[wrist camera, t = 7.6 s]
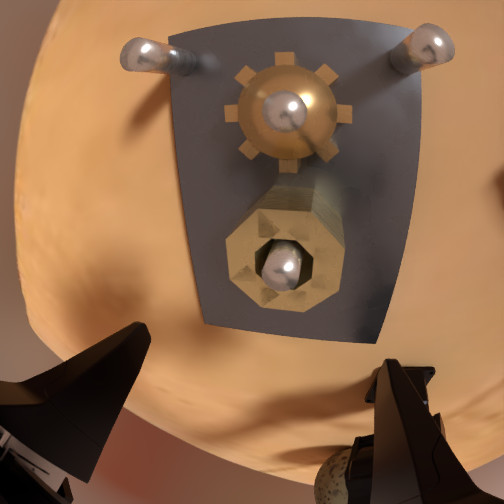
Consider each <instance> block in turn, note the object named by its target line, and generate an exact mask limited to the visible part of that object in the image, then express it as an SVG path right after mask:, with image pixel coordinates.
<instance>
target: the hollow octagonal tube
mask: <svg viewBox="0 0 504 504" xmlns="http://www.w3.org/2000/svg"><path fill="white" fill-rule="evenodd" d="M271 238H273V239H286V240H297V241H298V242H299V243H300V244H301V245H302V246H303V247H304V248H305V249H306V251H305V252H304V253H303V258H302V264H301V269H300V274H299V279H298V283H297V284H296V286H295V287H294V288H292V289H291V290H288V291H276V290H273V289H271V288H270V287H268V286H267V285H266V284H265V283H264V281H263V279H262V270H263V267H264V265H265V262H266V260H267V257H268V255H269V252H270V250H271V247H272V245H273V242H272V241H271V240H270V239H271ZM226 249H227V259H228V268H229V277H230V280H231V281H232V282H233V283H234V284H236V285H237V286H238V287H239V288H240V289H241V290H242V291H243V292H244V293H246V294H247V295H248V296H249V297H250V298H251V299H252V300H254V301H255V302H256V303H257V304H258V305H259V306H260V307H263V308H271V309H279V310H288V311H297V312H305V311H307V310H308V309H310V308H312V307H313V306H315V305H317V304H318V303H320V302H322V301H323V300H325V299H326V298H328V297H330V296H331V295H333V294H334V293H336V292H337V291H339V286H340V280H341V274H342V267H343V260H344V253H345V243H344V233H343V224H342V218H341V217H340V215H339V214H338V213H337V212H336V211H335V210H334V209H333V208H332V206H331V205H330V204H329V203H328V202H327V201H326V200H325V199H324V198H323V197H322V196H321V194H320V193H319V192H318V191H317V190H316V189H315V188H306V187H287V186H273V187H271V188H270V189H269V190H268V191H267V192H266V193H265V194H264V195H263V196H262V197H261V198H260V199H259V200H258V201H257V202H256V203H255V204H254V205H253V206H252V207H251V208H250V209H248V210H247V211H246V213H245V214H244V215H243V217H242V218H241V219H240V221H239V222H238V223H237V225H236V226H235V227H234V229H233V230H232V231H231V233H230V234H229V235H228V237H227V238H226Z"/></svg>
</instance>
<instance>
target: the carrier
mask: <svg viewBox="0 0 504 504" xmlns="http://www.w3.org/2000/svg"><path fill="white" fill-rule="evenodd" d="M168 42H169V45H168V44H164V43H161V42H157V41H153V40H149V39H145V38H140V37H138V38H134V39H131V40H130V41H129V42H127V43H126V44H125V46H124V47H123V49H122V51H121V54H120V63H121V66H122V67H123V69H125V70H127V71H135V72H149V73H159V74H168V75H170V85H171V100H172V112H173V124H174V134H175V144H176V153H177V162H178V170H179V178H180V186H181V193H182V200H183V207H184V214H185V221H186V227H187V233H188V239H189V245H190V251H191V257H192V262H193V268H194V273H195V278H196V284H197V289H198V294H199V299H200V304H201V308H202V313H203V318H204V322H205V324H210V325H216V326H221V327H227V328H233V329H239V330H246V331H252V332H259V333H266V334H274V335H281V336H289V337H298V338H307V339H317V340H327V341H339V342H353V343H369V344H376V342H377V339H378V336H379V333H380V331H381V328H382V325H383V322H384V319H385V316H386V313H387V310H388V307H389V304H390V301H391V297H392V294H393V291H394V287H395V284H396V280H397V276H398V273H399V269H400V265H401V261H402V257H403V253H404V248H405V244H406V239H407V234H408V229H409V224H410V219H411V213H412V208H413V201H414V195H415V188H416V180H417V172H418V162H419V151H420V137H421V71H422V70H425V69H428V68H431V67H434V66H437V65H440V64H443V63H446V62H449V61H450V60H452V58H453V57H454V54H455V48H454V44H453V41H452V39H451V38H450V36H449V35H448V34H447V33H446V32H445V31H444V30H443V29H442V28H440V27H439V26H437V25H434V24H429V23H427V24H422V25H421V26H419V27H418V28H417V29H416V30H413V29H408V28H404V27H399V26H394V25H389V24H383V23H376V22H370V21H362V20H352V19H341V18H322V17H289V18H270V19H258V20H249V21H241V22H234V23H227V24H221V25H216V26H210V27H205V28H201V29H196V30H192V31H188V32H184V33H180V34H176V35H172V36H169V37H168ZM273 186H287V187H306V188H315V189H316V190H317V191H318V192H319V193H320V194H321V196H322V197H323V198H324V199H325V200H326V201H327V202H328V203H329V204H330V205H331V206H332V208H333V209H334V210H335V211H336V212H337V213H338V214H339V215H340V217H341V218H342V224H343V233H344V243H345V253H344V260H343V267H342V274H341V280H340V286H339V291H337V292H336V293H334V294H333V295H331V296H330V297H328V298H326V299H325V300H323V301H322V302H320V303H318V304H317V305H315V306H313V307H312V308H310V309H308V310H307V311H305V312H297V311H288V310H279V309H271V308H263V307H260V306H259V305H258V304H257V303H256V302H255V301H254V300H252V299H251V298H250V297H249V296H248V295H247V294H246V293H244V292H243V291H242V290H241V289H240V288H239V287H238V286H237V285H236V284H234V283H233V282H232V281H231V280H230V277H229V268H228V259H227V249H226V238H227V237H228V235H229V234H230V233H231V231H232V230H233V229H234V227H235V226H236V225H237V223H238V222H239V221H240V219H241V218H242V217H243V215H244V214H245V213H246V211H247V210H248V209H250V208H251V207H252V206H253V205H254V204H255V203H256V202H257V201H258V200H259V199H260V198H261V197H262V196H263V195H264V194H265V193H266V192H267V191H268V190H269V189H270V188H271V187H273ZM270 240H271V241H272V242H273V245H272V247H271V250H270V252H269V255H268V257H267V260H266V262H265V265H264V267H263V270H262V279H263V281H264V283H265V284H266V285H267V286H268V287H270V288H271V289H273V290H276V291H288V290H291V289H292V288H294V287H295V286H296V284H297V283H298V279H299V274H300V269H301V264H302V258H303V253H304V252H305V251H306V249H305V248H304V247H303V246H302V245H301V244H300V243H299V242H298V241H297V240H286V239H273V238H271V239H270Z"/></svg>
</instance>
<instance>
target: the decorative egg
mask: <svg viewBox="0 0 504 504" xmlns="http://www.w3.org/2000/svg"><path fill="white" fill-rule="evenodd" d="M351 450H352V449H345V450H342V451H339V452H337V453H335V454H334V455H332V456H331V457H330V458H328V459H327V460H326V461H325V462H324V464H323V465H322V466H321V468H320V469H319V471H318V473H317V476H316V479H315V484H314V495H315V500H316V504H347V503H348V491H347V488H346V485H345V480H344V473H345V470H346V467H347V464H348V460H349V457H350V454H351Z"/></svg>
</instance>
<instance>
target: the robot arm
mask: <svg viewBox="0 0 504 504" xmlns="http://www.w3.org/2000/svg"><path fill="white" fill-rule="evenodd" d="M150 343H151V336H150V333H149V331H148V328H147V326H146V324H145V323H142V322H134V323H132V324H130V325H128V326H127V327H125V328H123V329H121V330H120V331H118V332H116V333H114V334H113V335H111V336H109V337H107V338H106V339H104V340H102V341H100V342H98V343H97V344H95V345H93V346H91V347H90V348H88V349H86V350H84V351H83V352H81V353H79V354H77V355H75V356H74V357H72V358H70V359H69V360H66V361H65V362H63V363H61V364H59V365H57V366H56V367H54V368H52V369H50V370H48V371H45V372H44V373H41V374H39V375H37V376H34V377H32V378H30V379H28V380H25V381H23V382H17V383H13V382H5V381H0V504H71V503H72V501H73V496H72V493H71V489H70V485H69V481H68V478H67V477H66V475H67V473H69V474H70V475H72V476H74V477H76V478H77V479H79V480H81V481H83V482H85V483H88V482H89V480H90V478H91V476H92V473H93V471H94V468H95V466H96V464H97V461H98V459H99V457H100V455H101V452H102V450H103V447H104V445H105V443H106V441H107V439H108V437H109V434H110V432H111V430H112V428H113V426H114V424H115V421H116V419H117V417H118V415H119V413H120V411H121V409H122V407H123V405H124V403H125V401H126V398H127V396H128V394H129V392H130V390H131V388H132V386H133V384H134V382H135V380H136V378H137V376H138V374H139V372H140V369H141V367H142V364H143V361H144V359H145V356H146V354H147V351H148V348H149V346H150ZM435 372H436V371H435V368H434V367H418V368H402V366H401V365H400V363H399V362H398V360H396V359H385V360H384V362H383V364H382V367H381V369H380V370H379V371H378V373H377V375H376V378H375V380H374V382H373V383H372V385H371V387H370V389H369V391H368V393H367V395H366V397H365V402H366V403H374V434H372V435H368V436H363V437H361V436H359V437H355V441H354V444H353V447H352V450H351V454H350V457H349V460H348V464H347V467H346V470H345V473H344V480H345V485H346V488H347V491H348V503H347V504H504V500H503V499H500V498H498V497H495V496H493V495H491V494H488V493H486V492H484V491H482V490H481V489H479V488H478V487H477V486H476V485H475V483H474V482H473V481H472V479H471V478H470V476H469V475H468V474H467V472H466V471H465V469H464V468H463V466H462V465H461V463H460V462H459V461H458V459H457V458H456V456H455V455H454V453H453V452H452V450H451V448H450V446H449V445H448V443H447V441H446V435H445V428H444V424H443V421H442V418H441V415H440V413H437V414H435V415H434V416H432V415H431V413H430V412H429V405H428V394H427V388H426V386H427V384H428V383H429V381H430V380H431V378H432V377H433V375H434V374H435Z"/></svg>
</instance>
